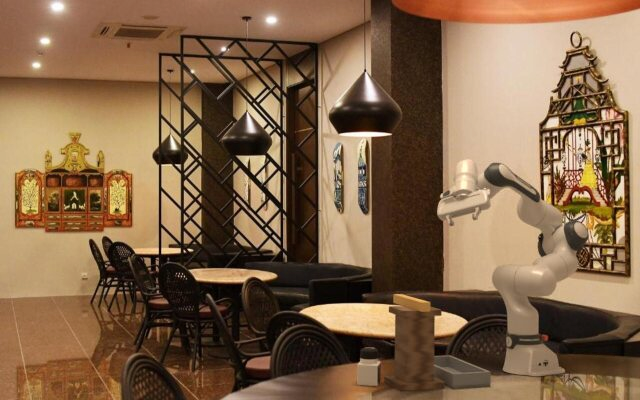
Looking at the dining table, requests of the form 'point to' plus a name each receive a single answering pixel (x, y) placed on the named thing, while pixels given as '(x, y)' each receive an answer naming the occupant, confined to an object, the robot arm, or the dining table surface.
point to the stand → (414, 349)
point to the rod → (412, 302)
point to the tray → (460, 373)
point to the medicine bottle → (369, 368)
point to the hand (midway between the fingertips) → (462, 222)
